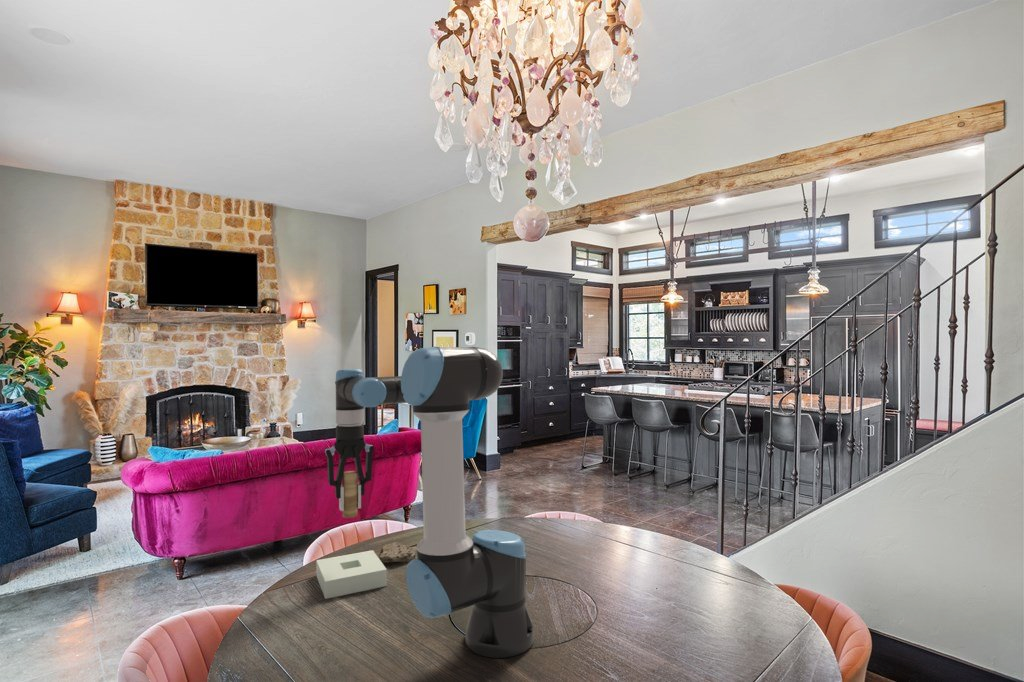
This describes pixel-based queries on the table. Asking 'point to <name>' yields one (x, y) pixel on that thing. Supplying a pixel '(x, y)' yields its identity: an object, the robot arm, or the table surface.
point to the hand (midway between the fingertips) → (350, 508)
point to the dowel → (350, 494)
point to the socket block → (350, 574)
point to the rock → (396, 553)
